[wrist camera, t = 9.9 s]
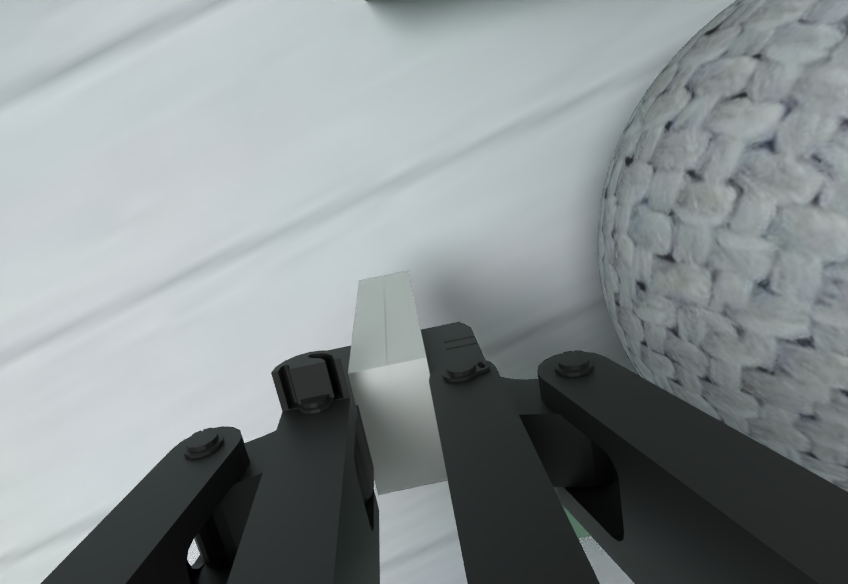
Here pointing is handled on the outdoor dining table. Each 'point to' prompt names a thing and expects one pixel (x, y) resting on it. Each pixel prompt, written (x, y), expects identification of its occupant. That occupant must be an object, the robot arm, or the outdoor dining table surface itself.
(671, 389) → the decorative ball
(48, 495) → the outdoor dining table surface
